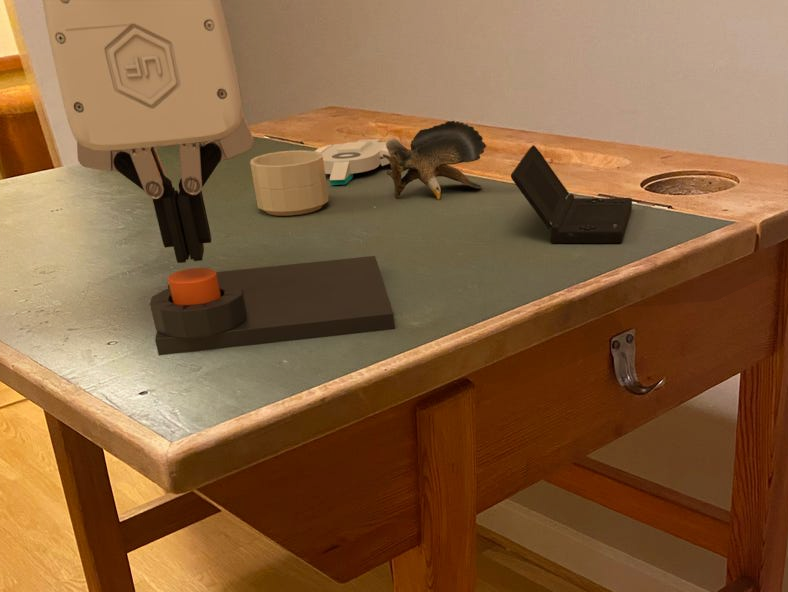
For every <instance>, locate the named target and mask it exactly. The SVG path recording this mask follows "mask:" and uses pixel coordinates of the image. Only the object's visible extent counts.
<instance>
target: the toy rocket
mask: <svg viewBox="0 0 788 592" xmlns="http://www.w3.org/2000/svg"><path fill="white" fill-rule="evenodd" d="M386 143H387V141H382V139H381V138H373V139H369V138H368V139H359V140H358V139H357V140H356V141H350V142H349V141H347V142H346V141H345V142H344V143H333V144H332V143H330V144H327V145H324V146H322V147H318V148H316V149H315V151H316V152H319V153H322V156H323V162H324V170H325V175H330V176H329V181H330V185H331V186H334V185H335V186H337V185H347V184H348V183H349V182H350V181H351V180H352V179H353V178H354V174H359V173H365V172H369V171H372V170H375V169H377V168H378V167H380V165H381V167H384V166H386V165H390V162H389V160H388V159H387V158H385V157H383V154H385V155H388V156H390V157H391V155H390V154H389V152H388V149H387V148H386Z"/></svg>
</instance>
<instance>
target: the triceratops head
mask: <svg viewBox="0 0 788 592" xmlns="http://www.w3.org/2000/svg"><path fill="white" fill-rule="evenodd" d="M483 139H484V138H483V136H482V135H480V133H479V131H478V130H476V129H475V127H474V126H471V125H469V124H468V123H464V122H460V121H455V120H451V121H450V120H447V121H445V123H441V124H437V125H433V126H432V127H429V128H424V129H420V130H418V132H417V133H416V134H415V136H414V137H413V139H412V140H411V141H410V149H408V148H407V147H406V146H404V145H403V144H402V143H400V141H399V140H398V139H396V138H390V139H389V140H387V141H386V142H387V143H386V148H387V149H388V152H389V154H390V155H391V157H390V156H388V155H385V154H383V157H385V158H387V159H388V160H389V162H390V163H389V165H390V168H391V170H387V171H386V175H387V176H389V177H390V178H391V179H392V181H393V184H394V194H393V195H394V198H395V199H397V198H399V197H401V193H403V192H404V190H405V188H406V186H407V185H408V184H409V183H412V182H413V181H415V180H419V181H420V182H421V183H423V184H424V185H425V186H427V188H429V189H430V190H431V191H432V193H433V194H434V195H435V197H436V200H440V199H441V191H442V190H441V186H440V184H439V181H438V180H437V177H438V178H439V177H441V178H443V177H444V178H447V179H450V180H452V181H455V182H459V183H462V184H464V185H466V186H468V187H470V188H473V189H475V190H476V189H478V190H481V189H483V186H482V185H480V184H478V183H475V182H473V181H471V180H470V179H469V178H468V177H467V176H466V175H465V174H464V173H463V172H462V171H461V170H459V168H456V167H454V166H452V165H457V164H461V163H472V162H475V161H478V160H480V159H481V155H482V154H484V153H485V149H486V148H487V144H486V143H485V142H484V141H483ZM405 171H406V173H405V174H404V176H402V173H403V172H405Z"/></svg>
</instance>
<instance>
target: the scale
mask: <svg viewBox="0 0 788 592" xmlns="http://www.w3.org/2000/svg"><path fill="white" fill-rule="evenodd" d="M379 267H380V266H379V264H378V261H377V258H376V255H368V256H359V257H349V258H340V259H331V260H329V259H328V260H321V261H311V262H300V263H292V264H282V265H281V264H280V265H273V266H272V265H271V266H263V267H252V268H243V269H241V268H240V269H234V270H232V269H231V270H224V271H223V270H222V271H215V272H216V274H217V279H218V284H219V289H220V294H221V297H220V298H219V299H217V300H214V301H211V302H207V303H204V304H194V305H177V304H174V303H173V299H172V295H171V291H170V286H169V283H168V284H167V288H165V289H164V290H161V291H160V292H157V293H156V294H155V295H153V296H152V297H151V299H150V303H149V307H150V311H151V316H152V319H153V323H154V327H155V330H156V334H155V338H154V342H155V346H156V349H157V353H158V356H166V355H175V354H183V353H184V354H185V353H194V352H195V353H196V352H202V351H211V350H221V349H229V348H240V347H249V346H257V345H266V344H267V345H268V344H274V343H275V344H276V343H283V342H285V343H286V342H293V341H300V340H301V341H302V340H310V339H311V340H313V339H321V338H328V337H330V338H331V337H338V336H339V337H340V336H347V335H355V334H364V333H366V334H367V333H373V332H374V333H375V332H383V331H392V330H396V327H395V317H394V311H393V308H392V305H391V302H390V298H389V296H388V292H387V288H386V286H385V282H384V279H383V276H382V273H381V271H380V268H379Z"/></svg>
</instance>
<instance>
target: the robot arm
mask: <svg viewBox="0 0 788 592" xmlns="http://www.w3.org/2000/svg"><path fill="white" fill-rule="evenodd" d="M42 6H43V12H44V16H45V22H46V23H45V24H46V29H47V33H48V34H47V35H48V37H49V43H50V48H51V54H52V59H53V63H54V67H55V71H56V77H57V80H58V85H59V90H60V94H61V98H62V103H63V107H64V111H65V116H66V118H67V122H68V125H69V128H70V131H71V133H72V136H73V138H74V139H75V141H76V147H77V148H76V150H77V151H76V152H77V161H78V163H79V164H80V165H81V166H82V167H84V168H87V169H94V170H101V171H108V172H118V173H120V174H121V175H122V176H124V177H125V178H126V179H127V180H129V181H130V182H131V183H133V184H134V185H136V186H137V187H138V188H139V189H141V190H142V191H143V192H144V193H145V195H146V196H147V197H148V198H150V199H152V203H153V207H154V211H155V215H156V219H157V224H158V228H159V232H160V237H161V240H162V241H161V242H162V244H163V247H164V248H173V252H174V256H175V259H176V262H177V264H184V263H186V262H187V261H189V260H193V261H194V262H200V261H203V258H204V252H205V246H204V244H210V243H212V233H211V228H210V224H209V219H208V215H207V209H206V205H205V201H204V194H203V191H202V189H203V187H204V186H205V184H206V183H207V181H208V179H209V178H210V177H211V175H212V173H214V171H215V169H216V168H217V167H218V165H219V163H221V162H224V161H226V160H229V159H232V158H235V157H237V156H240V155H243V154H246V153H248V152H251V150H252V149H253V148H254V136H253V134H252V131H251V129H250V126H249V124H248V122H247V119H246V117H245V114H244V112H243V107H242V105H243V104H242V94H241V87H240V82H239V81H240V80H239V76H238V71H237V66H236V62H235V56H234V53H233V52H234V51H233V48H232V43H231V39H230V35H229V30H228V25H227V22H226V18H225V17H226V16H225V12H224V9H223V5H222V2H221V0H42ZM175 145H178V146H179V160H180V172H181V178H180V179H179V181H178V182H179V183H178V189H179V191H178V190H177V189H175V187H174V186H173V182H172V180H171V179H169V177H168V176H167V174H166V172H165V170H164V167H163V164H162V162H161V159H160V156H159V154H158V151H157V148H156V147H163V146H175Z"/></svg>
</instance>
